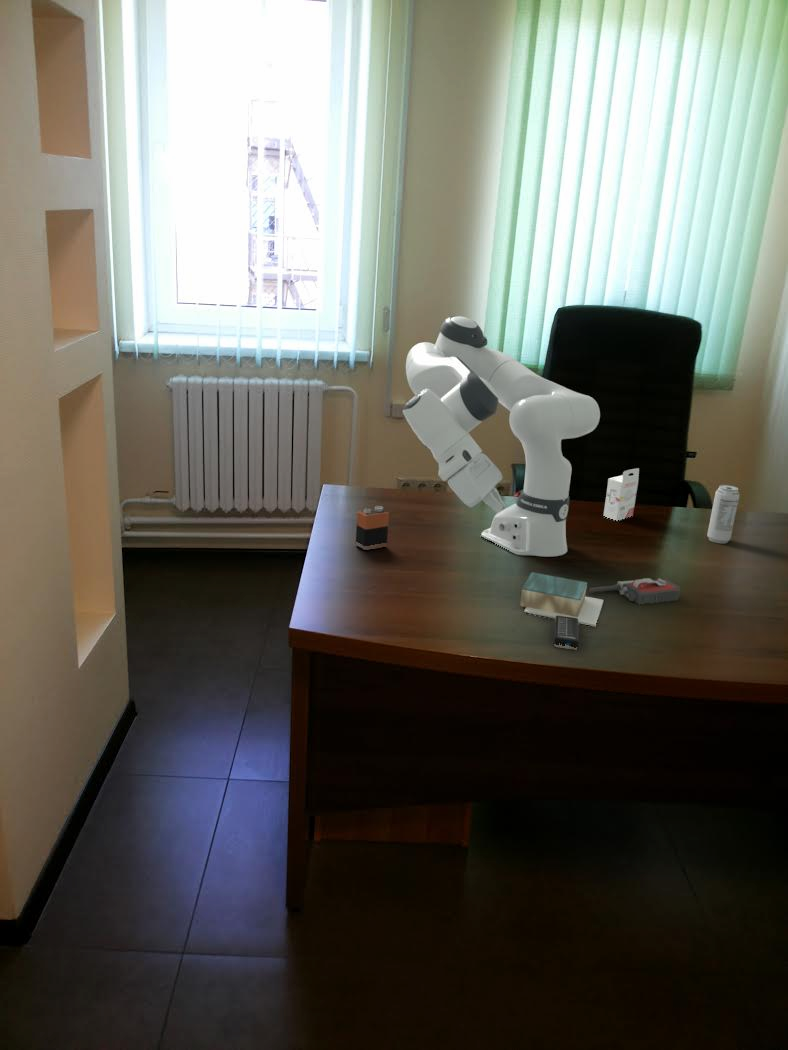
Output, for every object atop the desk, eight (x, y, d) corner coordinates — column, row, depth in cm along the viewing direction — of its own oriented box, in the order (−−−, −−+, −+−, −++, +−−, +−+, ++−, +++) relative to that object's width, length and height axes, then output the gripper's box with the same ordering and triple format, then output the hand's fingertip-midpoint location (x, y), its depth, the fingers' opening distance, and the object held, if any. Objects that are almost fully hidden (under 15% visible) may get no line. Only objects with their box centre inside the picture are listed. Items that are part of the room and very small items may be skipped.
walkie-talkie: (659, 586, 191) (586, 593, 184) (662, 568, 190) (589, 575, 183) (684, 601, 184) (609, 610, 176) (688, 582, 182) (612, 591, 175)
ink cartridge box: (618, 512, 245) (626, 464, 240) (633, 516, 242) (641, 467, 237) (601, 517, 239) (609, 467, 235) (616, 521, 236) (624, 471, 231)
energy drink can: (726, 537, 228) (736, 485, 223) (732, 545, 222) (743, 491, 218) (703, 535, 229) (714, 483, 224) (709, 543, 223) (720, 489, 218)
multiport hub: (576, 628, 166) (578, 617, 166) (577, 652, 156) (578, 641, 155) (554, 625, 167) (555, 614, 166) (553, 649, 157) (555, 638, 156)
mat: (524, 613, 171) (524, 610, 171) (536, 589, 183) (537, 587, 183) (595, 627, 166) (595, 624, 166) (603, 602, 179) (603, 599, 179)
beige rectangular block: (522, 587, 172) (580, 599, 168) (531, 572, 181) (587, 582, 177) (520, 605, 173) (577, 617, 169) (529, 589, 182) (584, 599, 178)
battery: (387, 547, 203) (390, 508, 200) (364, 552, 199) (366, 512, 196) (377, 542, 206) (379, 503, 203) (354, 546, 202) (356, 507, 199)
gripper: (462, 456, 184) (500, 505, 184) (435, 477, 166) (478, 531, 166) (483, 439, 181) (522, 489, 182) (459, 458, 163) (502, 514, 163)
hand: (501, 509), depth 174 cm, fingers closed
